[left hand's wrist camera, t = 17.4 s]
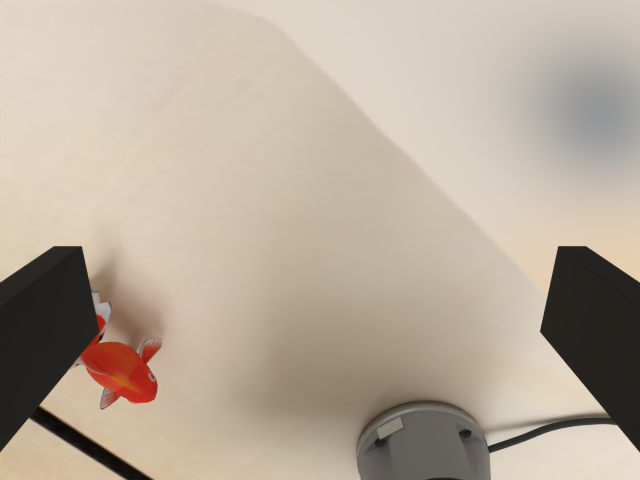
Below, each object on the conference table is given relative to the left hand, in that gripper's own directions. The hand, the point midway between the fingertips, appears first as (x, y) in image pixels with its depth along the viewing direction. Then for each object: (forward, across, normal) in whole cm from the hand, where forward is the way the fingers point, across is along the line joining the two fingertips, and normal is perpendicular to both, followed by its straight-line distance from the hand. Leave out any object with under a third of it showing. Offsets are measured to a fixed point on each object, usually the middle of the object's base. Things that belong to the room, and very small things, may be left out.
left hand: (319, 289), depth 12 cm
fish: (+29, -23, -20) cm, 42 cm away
